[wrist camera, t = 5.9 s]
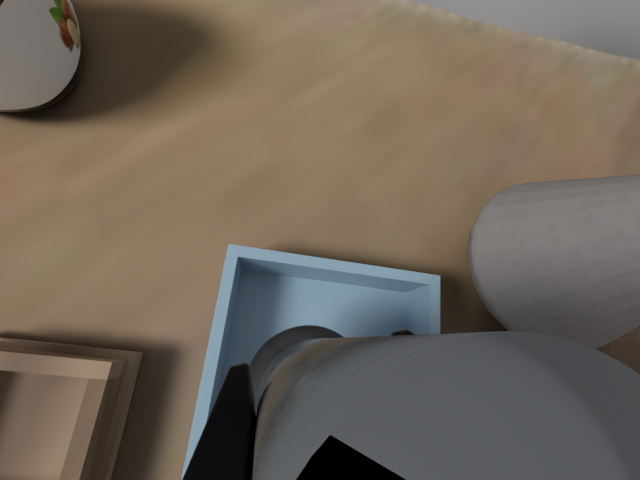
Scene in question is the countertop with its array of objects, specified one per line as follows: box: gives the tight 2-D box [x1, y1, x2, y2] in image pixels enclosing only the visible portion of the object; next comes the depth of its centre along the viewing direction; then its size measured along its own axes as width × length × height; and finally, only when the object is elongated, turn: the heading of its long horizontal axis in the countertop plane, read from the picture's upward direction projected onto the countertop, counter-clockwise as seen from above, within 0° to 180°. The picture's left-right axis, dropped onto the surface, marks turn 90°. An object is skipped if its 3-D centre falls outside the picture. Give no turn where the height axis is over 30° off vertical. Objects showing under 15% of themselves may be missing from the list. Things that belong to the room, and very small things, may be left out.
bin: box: [181, 244, 440, 480], centre depth 18 cm, size 12×12×4 cm
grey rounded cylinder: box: [249, 325, 640, 480], centre depth 8 cm, size 5×5×13 cm
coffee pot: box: [467, 175, 640, 349], centre depth 19 cm, size 21×12×15 cm, turn 157°
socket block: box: [0, 337, 143, 480], centre depth 16 cm, size 8×8×3 cm
